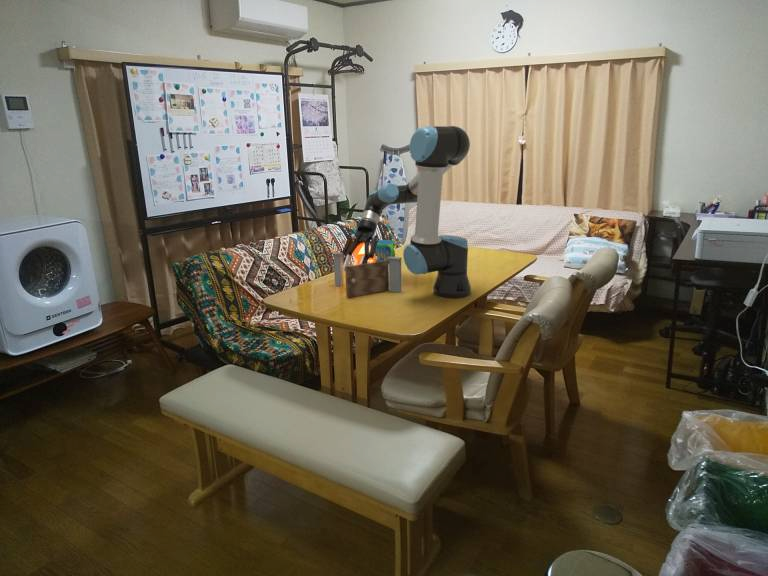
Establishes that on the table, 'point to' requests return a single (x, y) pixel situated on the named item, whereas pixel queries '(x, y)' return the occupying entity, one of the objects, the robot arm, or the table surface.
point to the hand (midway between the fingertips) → (352, 270)
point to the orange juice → (361, 254)
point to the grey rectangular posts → (393, 272)
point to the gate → (367, 278)
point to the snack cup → (385, 249)
